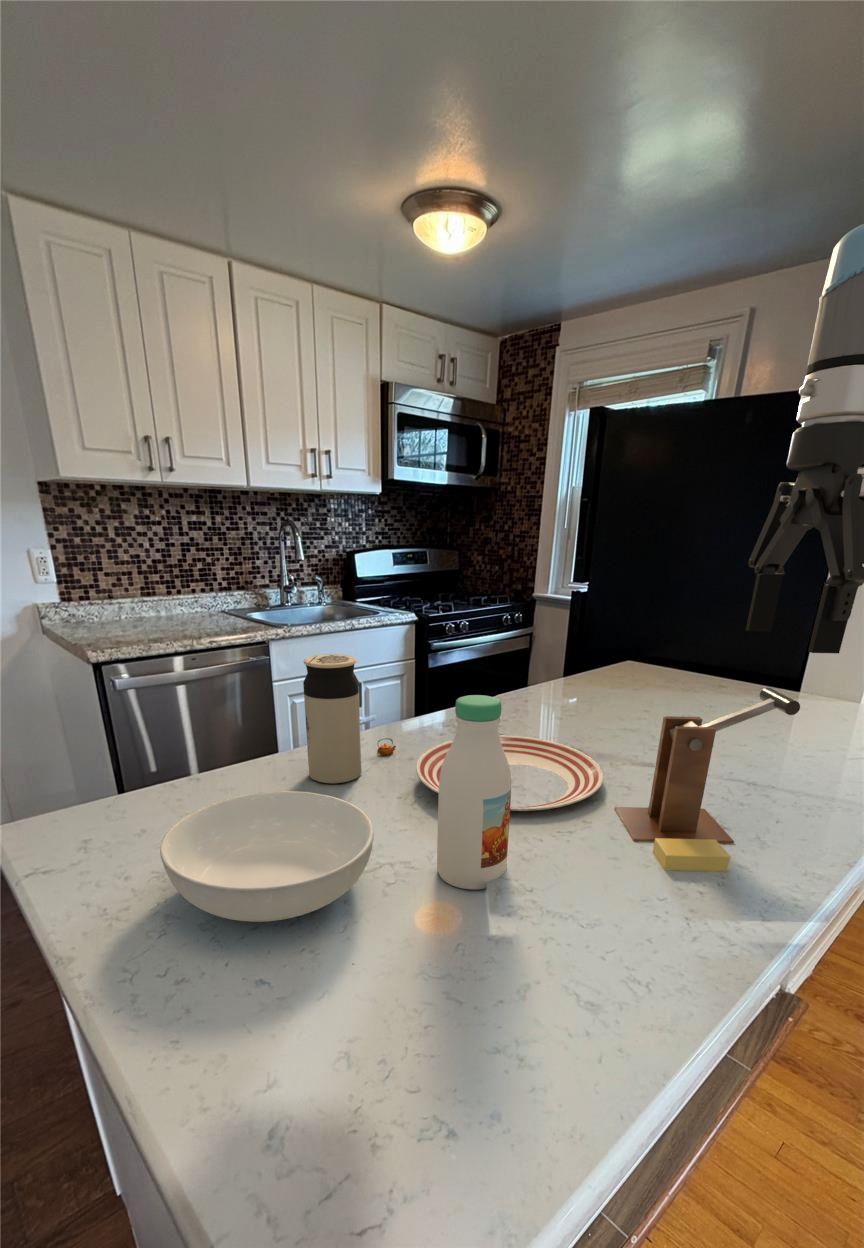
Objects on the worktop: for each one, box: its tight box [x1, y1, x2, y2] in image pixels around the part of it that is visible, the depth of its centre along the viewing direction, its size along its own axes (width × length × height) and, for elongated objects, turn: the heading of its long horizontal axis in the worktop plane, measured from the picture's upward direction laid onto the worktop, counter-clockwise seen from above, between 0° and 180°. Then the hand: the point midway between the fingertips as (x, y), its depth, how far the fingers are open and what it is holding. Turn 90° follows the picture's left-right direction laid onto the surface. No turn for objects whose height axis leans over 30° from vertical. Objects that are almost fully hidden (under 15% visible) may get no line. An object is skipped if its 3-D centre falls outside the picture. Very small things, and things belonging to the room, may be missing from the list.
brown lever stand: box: [613, 715, 735, 844], centre depth 75 cm, size 12×9×15 cm
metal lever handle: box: [670, 687, 801, 740], centre depth 72 cm, size 13×6×2 cm, turn 89°
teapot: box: [376, 737, 397, 757], centre depth 103 cm, size 3×3×3 cm
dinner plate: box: [415, 734, 604, 812], centre depth 91 cm, size 28×27×3 cm
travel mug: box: [302, 653, 362, 785], centre depth 91 cm, size 8×8×18 cm
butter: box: [652, 838, 731, 872], centre depth 69 cm, size 7×4×3 cm, turn 89°
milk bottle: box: [436, 694, 512, 890], centre depth 64 cm, size 8×8×20 cm
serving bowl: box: [159, 790, 375, 923], centre depth 63 cm, size 21×21×7 cm
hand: (787, 641), depth 68 cm, fingers open, 13 cm apart
